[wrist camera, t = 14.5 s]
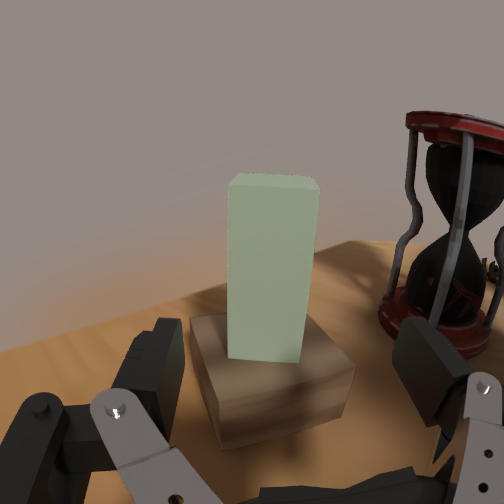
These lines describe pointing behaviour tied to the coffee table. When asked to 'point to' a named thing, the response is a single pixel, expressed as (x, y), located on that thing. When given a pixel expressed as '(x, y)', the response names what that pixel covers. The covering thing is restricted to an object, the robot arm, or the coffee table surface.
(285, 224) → the sage block
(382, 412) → the coffee table surface
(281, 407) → the walnut base block
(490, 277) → the brown crossed bar shape
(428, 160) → the hourglass
